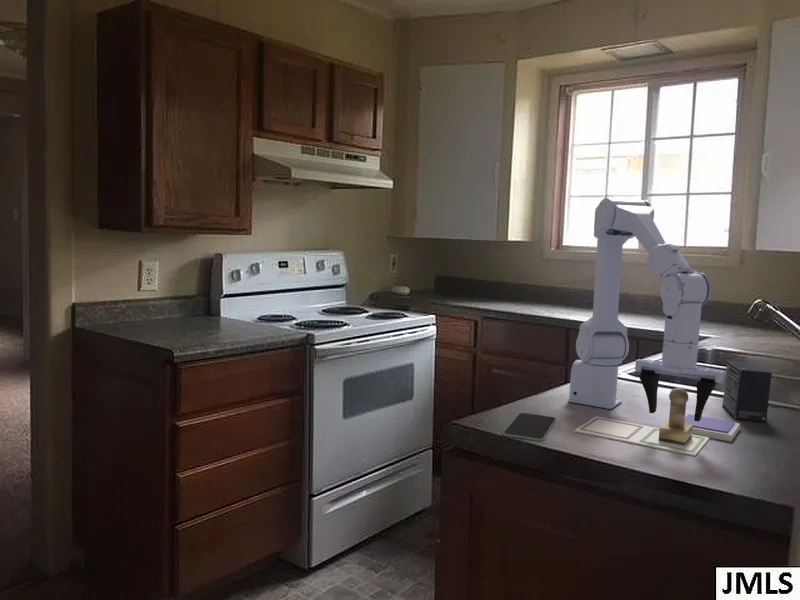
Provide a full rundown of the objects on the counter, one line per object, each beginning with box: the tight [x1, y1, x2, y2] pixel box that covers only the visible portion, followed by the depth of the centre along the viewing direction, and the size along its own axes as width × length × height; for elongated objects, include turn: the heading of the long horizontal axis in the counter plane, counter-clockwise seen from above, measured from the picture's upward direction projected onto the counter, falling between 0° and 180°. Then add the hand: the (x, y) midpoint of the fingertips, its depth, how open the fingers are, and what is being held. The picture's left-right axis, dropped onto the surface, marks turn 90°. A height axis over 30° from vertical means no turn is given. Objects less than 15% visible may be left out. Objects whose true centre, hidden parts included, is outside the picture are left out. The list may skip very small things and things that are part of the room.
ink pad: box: [685, 413, 741, 443], centre depth 131 cm, size 10×10×2 cm
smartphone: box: [502, 412, 557, 442], centre depth 129 cm, size 7×1×15 cm
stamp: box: [658, 387, 693, 446], centre depth 124 cm, size 4×6×9 cm
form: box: [574, 416, 710, 457], centre depth 127 cm, size 21×12×1 cm, turn 56°
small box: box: [721, 360, 773, 423], centre depth 144 cm, size 11×6×10 cm, turn 168°
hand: (674, 416), depth 123 cm, fingers open, 7 cm apart
